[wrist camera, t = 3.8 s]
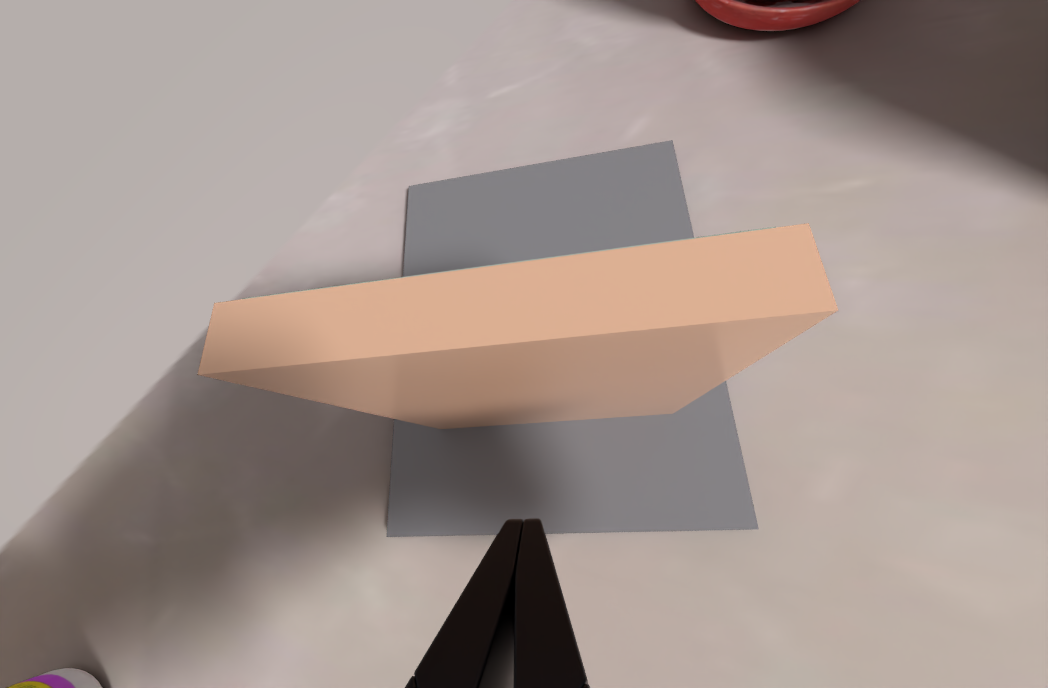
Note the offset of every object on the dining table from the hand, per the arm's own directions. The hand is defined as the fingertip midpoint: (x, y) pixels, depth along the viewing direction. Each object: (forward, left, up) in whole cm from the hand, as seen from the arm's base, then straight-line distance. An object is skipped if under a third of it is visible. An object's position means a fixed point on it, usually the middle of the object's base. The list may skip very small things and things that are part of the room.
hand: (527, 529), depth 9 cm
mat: (+9, +1, -9) cm, 12 cm away
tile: (+4, +1, -8) cm, 9 cm away
